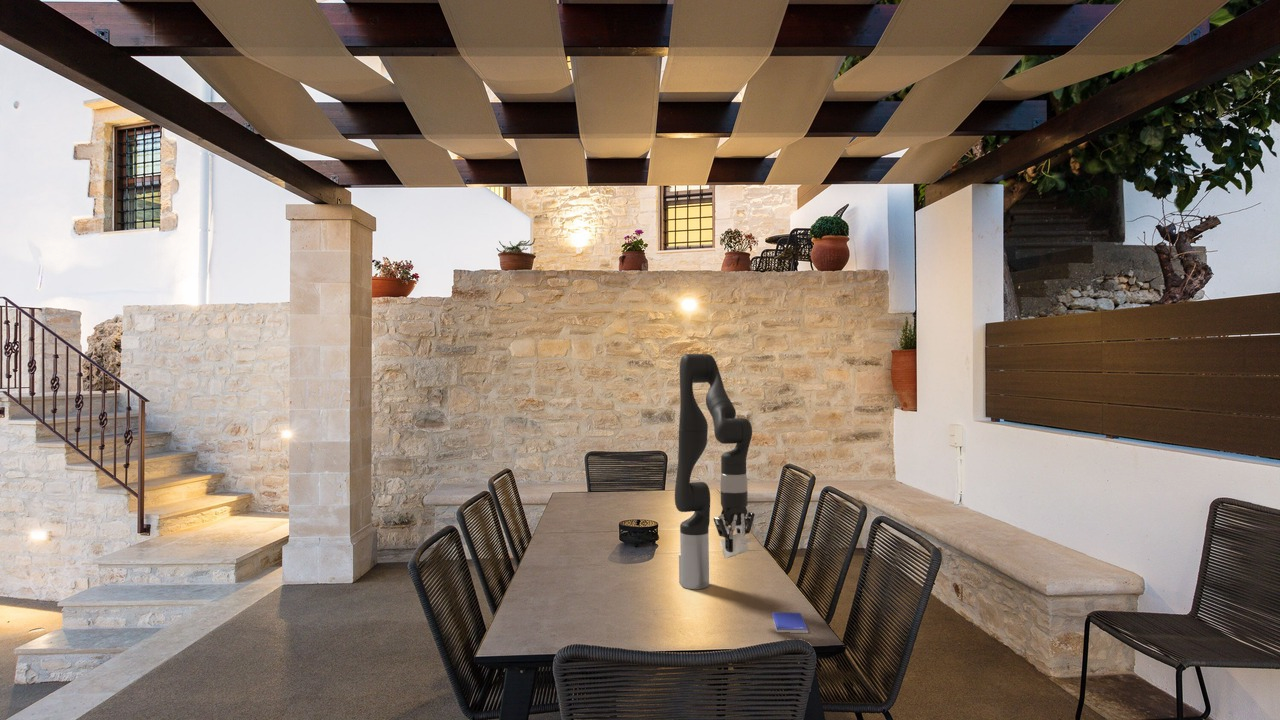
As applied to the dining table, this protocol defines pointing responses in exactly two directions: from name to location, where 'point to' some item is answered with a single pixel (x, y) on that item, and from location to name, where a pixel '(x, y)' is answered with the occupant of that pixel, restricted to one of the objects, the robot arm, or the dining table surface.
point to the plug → (736, 545)
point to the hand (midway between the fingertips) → (734, 550)
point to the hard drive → (789, 622)
